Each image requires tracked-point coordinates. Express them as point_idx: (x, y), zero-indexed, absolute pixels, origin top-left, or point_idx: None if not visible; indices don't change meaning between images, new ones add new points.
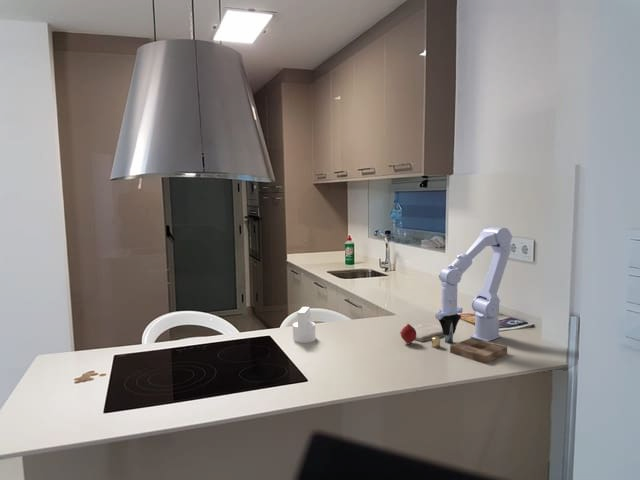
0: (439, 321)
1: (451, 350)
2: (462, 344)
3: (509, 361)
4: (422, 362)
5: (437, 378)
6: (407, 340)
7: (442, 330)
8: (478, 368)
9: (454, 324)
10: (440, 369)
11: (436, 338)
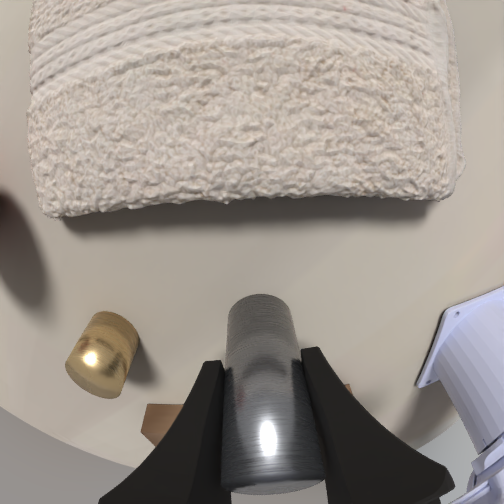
0: (130, 477)
1: (148, 417)
2: None
3: None
4: (23, 382)
5: (47, 430)
6: None
7: (379, 178)
8: None
9: (322, 460)
10: (62, 424)
11: (90, 386)
